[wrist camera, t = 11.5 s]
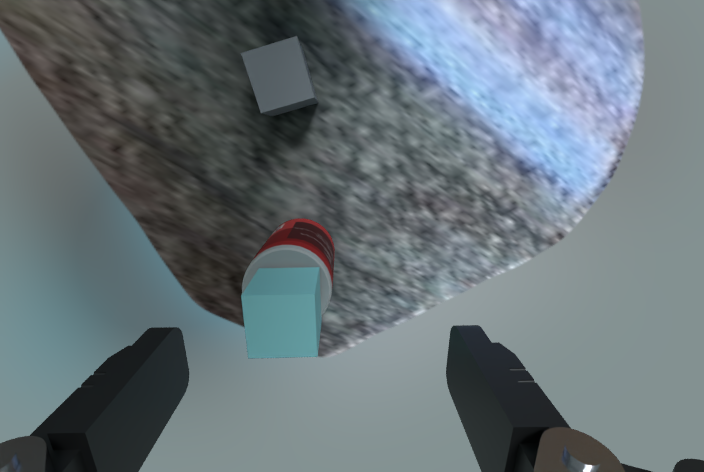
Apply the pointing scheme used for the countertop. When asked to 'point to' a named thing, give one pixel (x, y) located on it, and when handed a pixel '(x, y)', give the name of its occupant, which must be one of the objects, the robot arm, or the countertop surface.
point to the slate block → (280, 77)
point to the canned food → (298, 253)
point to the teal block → (283, 313)
